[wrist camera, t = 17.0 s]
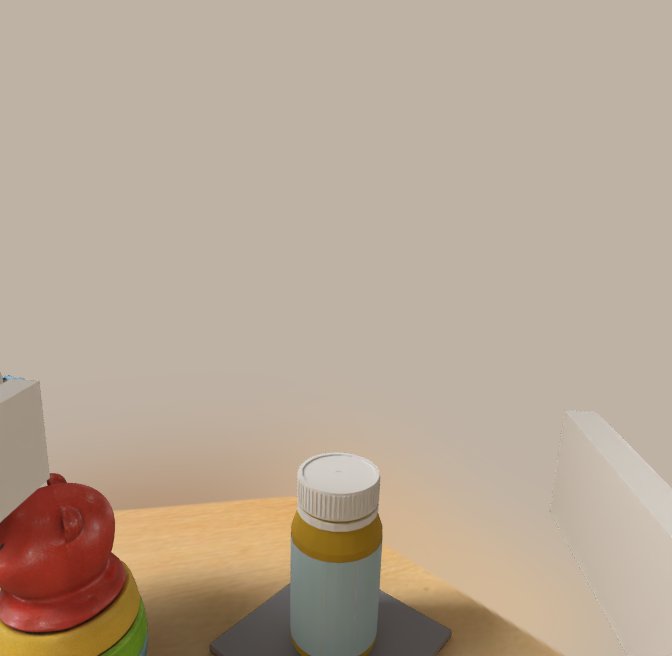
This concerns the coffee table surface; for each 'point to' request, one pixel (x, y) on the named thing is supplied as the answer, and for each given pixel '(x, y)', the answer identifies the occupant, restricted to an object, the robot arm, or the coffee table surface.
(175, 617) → the coffee table surface
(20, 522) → the stacking bear
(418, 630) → the charcoal mat
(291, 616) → the bottle
